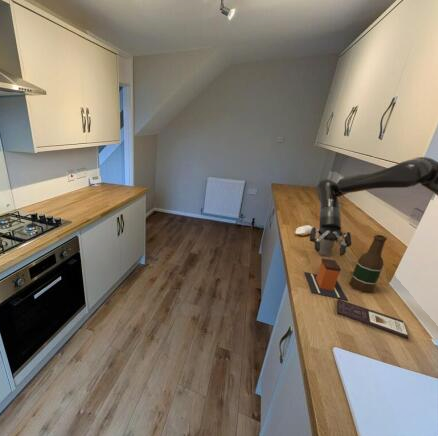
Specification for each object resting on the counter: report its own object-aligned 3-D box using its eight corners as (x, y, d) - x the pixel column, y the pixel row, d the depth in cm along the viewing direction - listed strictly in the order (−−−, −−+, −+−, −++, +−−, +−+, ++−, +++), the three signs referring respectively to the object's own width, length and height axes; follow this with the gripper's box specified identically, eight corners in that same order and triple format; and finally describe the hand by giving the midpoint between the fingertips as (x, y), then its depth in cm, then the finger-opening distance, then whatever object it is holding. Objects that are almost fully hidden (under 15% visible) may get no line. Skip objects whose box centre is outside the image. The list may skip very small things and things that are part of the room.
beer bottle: (344, 283, 103) (362, 232, 95) (359, 281, 104) (378, 231, 96) (362, 294, 96) (383, 241, 88) (378, 292, 97) (400, 239, 89)
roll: (302, 230, 144) (300, 238, 146) (314, 227, 149) (312, 235, 151) (293, 226, 149) (291, 234, 151) (304, 223, 154) (302, 231, 156)
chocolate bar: (338, 299, 92) (402, 320, 82) (337, 301, 92) (401, 322, 82) (337, 312, 85) (408, 337, 75) (337, 314, 86) (407, 339, 76)
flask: (332, 257, 124) (344, 222, 117) (319, 254, 127) (330, 220, 119) (326, 245, 137) (337, 213, 130) (315, 243, 139) (324, 211, 132)
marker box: (328, 281, 104) (335, 260, 100) (333, 291, 97) (340, 269, 94) (315, 278, 105) (322, 257, 102) (319, 288, 99) (326, 266, 95)
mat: (335, 278, 106) (335, 277, 106) (347, 300, 92) (348, 299, 92) (304, 272, 110) (304, 271, 110) (311, 292, 97) (311, 291, 96)
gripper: (314, 213, 105) (313, 246, 100) (353, 217, 100) (354, 253, 95) (308, 220, 112) (307, 252, 106) (345, 225, 107) (346, 259, 101)
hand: (329, 253), depth 100 cm, fingers open, 8 cm apart
